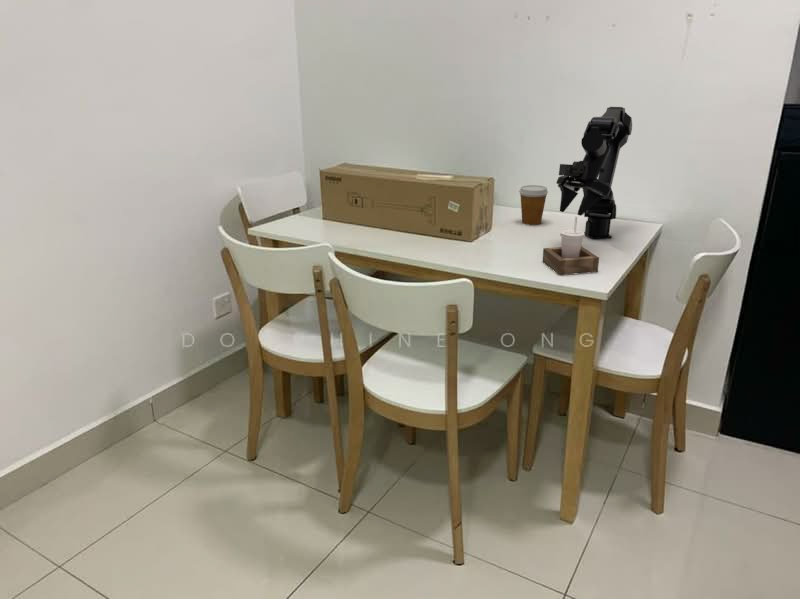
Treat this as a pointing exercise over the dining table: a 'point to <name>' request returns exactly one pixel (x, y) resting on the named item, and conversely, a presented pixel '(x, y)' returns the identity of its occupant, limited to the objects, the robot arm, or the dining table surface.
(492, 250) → the dining table surface
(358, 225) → the dining table surface
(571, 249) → the smoothie
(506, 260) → the dining table surface
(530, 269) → the dining table surface
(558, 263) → the socket block
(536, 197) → the disposable coffee cup
